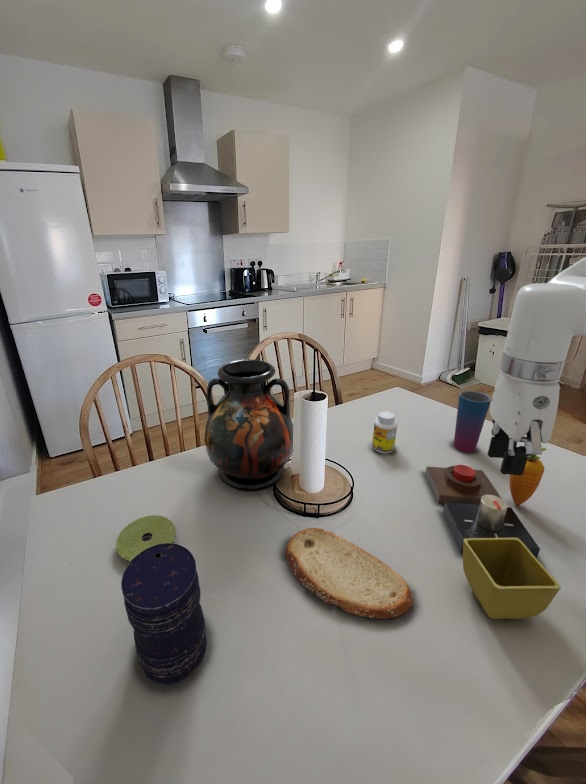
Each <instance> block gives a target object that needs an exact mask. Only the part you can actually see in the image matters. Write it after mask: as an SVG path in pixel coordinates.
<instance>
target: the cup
mask: <svg viewBox="0 0 586 784" xmlns="http://www.w3.org/2000/svg"><path fill="white" fill-rule="evenodd" d="M491 400H492V396H490V395H489V394H487V393H485V392H482V391H478V390H462V391H460V392H459V394H458V402H457V411H456V419H455V428H454V437H453V447H454V448H455V449H456V450H458V451H460V452H462V453H473V452H475V451H476V449H477V446H478V442H479V440H480V436H481V433H482V430H483V427H484V424H485V421H486V417H487V414H488V412H489V409H490V404H491Z"/></svg>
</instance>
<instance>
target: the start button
mask: <svg viewBox="0 0 586 784" xmlns="http://www.w3.org/2000/svg"><path fill="white" fill-rule="evenodd" d="M454 466H455V467H454V470H453V476H454V477H455V478H456V479H458V480H460V481H463V482H472V481H474V477H475V471H474V470H475V469H473V468H472V467H470V466H468V465H465V464H456V465H454Z"/></svg>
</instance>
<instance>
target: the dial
mask: <svg viewBox="0 0 586 784" xmlns="http://www.w3.org/2000/svg"><path fill="white" fill-rule="evenodd" d="M501 498H502V497H501ZM501 498H499V497H497V496H494V495H483V496H482V497H481V501H480V505H479V509H478V513H477V517H476V521H477V523H478V524H479V525H480V526H481V527H483V528H484V529H487V530H489V531H499V530H501V528H502V525H503V521H504V518H505V514H506V511H507V507H509V506H508V503H507V502H506V500H504V499H503V498H502V499H501Z"/></svg>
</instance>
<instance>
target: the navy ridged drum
mask: <svg viewBox="0 0 586 784" xmlns="http://www.w3.org/2000/svg"><path fill="white" fill-rule="evenodd" d="M200 585H201V584H200V578H199V573H198V569H197V561H196V558H195V556H194V554H193V553H192V552H191V551H190V549H188V548H187V547H185V546H183V545H181V544H178V543H173V542H172V543H163V544H158V545H154V546H151V547H149V548H147V549H145V550H143V551H142V552H140V553H139V554H138V555H136V556H135V557H134V558H133V559H132V560H131V561H129V562H128V563H127V566H126V567H125V569H124V571H123V573H122V576H121V581H120V588H121V589H120V590H121V592H122V593H121V594H122V596H123V603H124V607H125V611H126V616H127V620H128V621H129V624H130V626H131V627H132V629H133V641H134V648H135V650H136V656H137V658H138V661H139V664H140V667H141V670H142V672H143V674H144V675H145V676H146V678H147V679H148V680H150V681H151V682H152V683H154V684H156V685H160V686H173V685H177V684H179V683H181V682H183V681H185V680H186V679H188V678H190V676H192V675H193V674H194V673H195V671H197V669H199V666H200V665H201V663H202V661H203V660H204V657H205V655H206V654H205V653H206V650H207V633H206V630H207V628H206V620H205V616H204V613H203V612H204V611H203V608H202V606H201V593H202V592H201V586H200Z"/></svg>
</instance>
